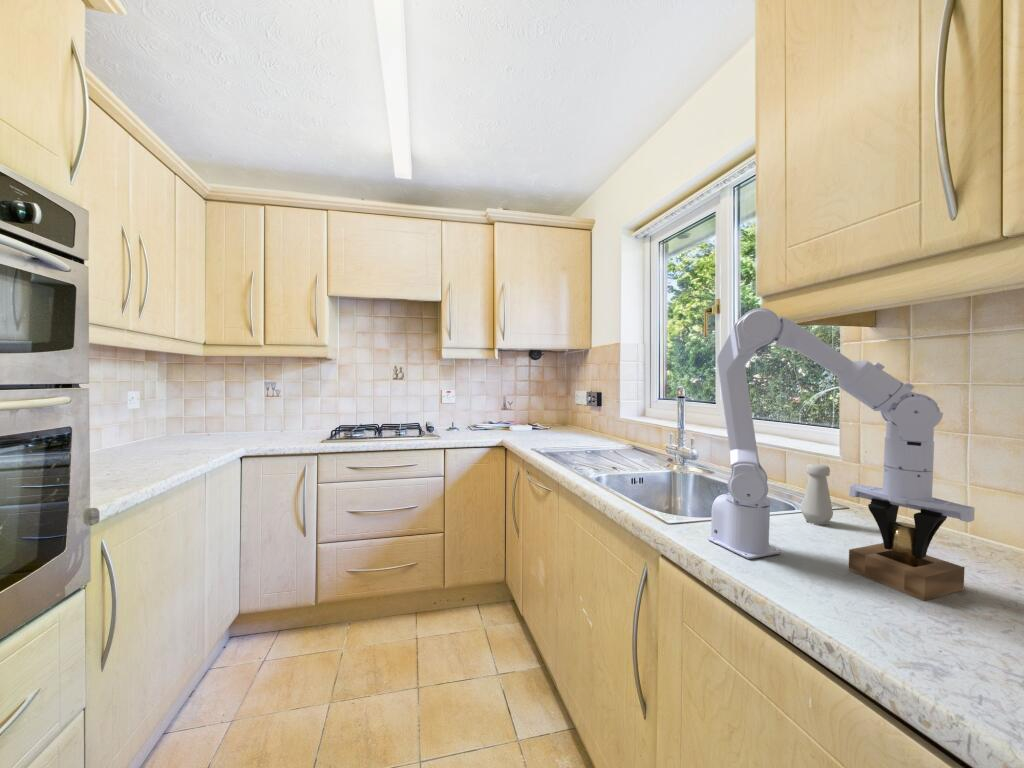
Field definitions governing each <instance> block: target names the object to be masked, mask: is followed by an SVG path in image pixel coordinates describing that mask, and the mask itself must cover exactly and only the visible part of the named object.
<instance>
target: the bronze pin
mask: <svg viewBox="0 0 1024 768" xmlns="http://www.w3.org/2000/svg"><path fill="white" fill-rule="evenodd" d="M915 542H916V530H915V524H912V523H908V522H904V521H903V522H902V521H896V522H892V537H891V559H892V560H895V561H898V562H901V563H903V564H906V565H909V566H912V567H918V558H916V557H915Z"/></svg>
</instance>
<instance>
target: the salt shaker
mask: <svg viewBox="0 0 1024 768" xmlns="http://www.w3.org/2000/svg"><path fill="white" fill-rule="evenodd" d="M806 473H807V474H808V478H807V483H806V487H805V492H804V496H803V500H802V504H801V508H800V510H801V513H802V515H803V516H802V517H804V520H805V519H806V520H805V521H806V522H807V521H808V522H807V523H809V522H811V523H810V524H812V523H814V524H813V525H815V524H820V525H819V526H827V525H828V524H829V522H830V521H831V520H832V519H833V518H834V517H833V516H834V512H833V506H832V500H831V494H830V489H829V485H828V478H827V477H829V476H830V475H831V468H830V467H829V466H828V465H827V464H822V463H815V462H814V463H808V464H806ZM827 523H828V524H827ZM826 524H827V525H826Z"/></svg>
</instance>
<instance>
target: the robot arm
mask: <svg viewBox="0 0 1024 768" xmlns="http://www.w3.org/2000/svg"><path fill="white" fill-rule="evenodd" d="M726 337H727V338H726V340H725V341H724V343H723V345H722V347H721V349H720V350H719V352H718V355H717V356H716V357H717V358H716V364H717V371H718V379H719V383H720V391H721V398H722V405H723V411H724V413H723V414H724V420H725V425H726V432H727V433H726V434H727V439H728V440H727V441H728V447H729V459H730V462H729V463H730V470H731V471H730V475H729V478H728V480H727V489H728V492H727V493H723V494H720V495H718V496H717V497H715V499H714V501H713V502H712V506H711V520H710V521H711V524H710V536H708V537H707V540H708V541H710V542H711V543H715V544H716V545H719V546H721V547H722V548H725V549H727V550H729V551H731V552H733V553H734V554H737V555H739V556H741V557H742V558H743V557H744V558H745V559H748V560H752V559H757V558H762V557H763V558H764V557H768V556H774V555H780V554H781V550H779V549H777V548H775V547H773V546H771V545H770V544H769V543H770V522H771V521H770V516H771V501H770V500H769V498H767V496H768V493H769V485H768V474H767V472H766V470H765V469H764V468H763V467H762V465H761V463H760V459H759V452H758V446H757V439H756V434H755V427H754V420H753V419H754V418H753V414H752V407H751V400H750V392H749V386H748V379H747V371H746V365H747V364H748V362H749V361H751V360H752V358H753V357H754V356H755V355H756V353H758V352H759V351H760V350H763V349H765V348H766V347H768V346H769V345H771V344H772V343H773V342H776V343H775V345H774V347H775V348H780V349H781V348H782V349H791V350H795V351H797V352H798V353H799V354H801V355H802V356H805V357H807V358H808V359H809V360H811V361H813V362H815V363H816V364H817V365H820V367H822V368H824V369H825V370H827V371H829V372H830V373H832V374H834V375H835V376H836V377H837V384H838V387H839V388H840V389H842V390H843V391H845V392H846V393H847V394H849V395H850V396H851V397H853V398H855V399H857V400H858V401H860V402H861V403H862V404H864V405H865V406H866V407H868V408H870V409H871V410H873V411H874V412H880V414H881V417H882V419H883V420H884V421H885V422H886V427H885V428H886V429H885V437H884V448H883V450H884V454H883V455H884V456H883V474H882V475H883V476H882V477H883V478H882V487H877V486H876V487H875V486H870V485H869V486H868V485H863V484H856V483H853V484H850V485H849V491H848V494H849V495H848V496H849V497H852V498H861V499H865V500H870V503H868V505H867V508H868V510H869V512H870V513H871V515H872V517H873V518H874V520H875V522H876V525H877V527H878V529H879V533H880V535H881V538H882V539H881V540H882V543H884V548H885V549H888V550H891V537H892V522H897V519H898V518H897V517H898V512H899V508H900V507H903V508H907V509H911V510H916V511H919V512H915V513H913V521H914V525H915V530H916V542H915V557H916V558H919V559H922V558H924V557H926V555H927V552H928V549H929V547H930V544H931V542H932V540H933V538H934V536H935V534H936V533H937V531H938V530H939V529H940V528H941V526H942V524H943V523H944V522H946V520H947V518H953V519H958V520H959V521H962V522H967V523H972V522H973V521H975V507H974V506H969V505H965V504H960V503H955V502H953V501H952V502H951V501H947V500H945V499H941V498H937V497H933V485H934V484H933V481H934V480H933V479H934V478H933V477H934V459H935V458H934V457H935V455H934V454H935V441H934V433H935V427H937V426H938V425H939V424H940V422H941V421H942V419H943V415H944V413H943V412H941V409H940V407H939V406H938V403H937V401H935V400H934V399H933V398H932V397H930V396H928V395H926V394H922V393H916V392H914V391H913V390H914V388H915V386H914V384H912V383H910V382H905V383H904V382H902V381H901V380H900V379H897V378H896V377H894V376H893V375H892V374H890V373H888V372H886V371H884V369H885V366H884V365H883V364H882V363H880V362H874V363H872V362H870V361H869V360H857V361H855V360H854V361H853V360H851V359H850V358H848V357H847V356H845V355H844V354H843V353H841V352H840V351H838V350H836V349H835V348H833V347H832V346H831V345H829V344H828V343H827V342H826V341H825V342H824V341H823V340H822V339H821V338H819V337H817V336H816V335H815V334H813V333H811V332H810V331H808V330H807V329H806V328H804V327H803V326H801V325H799V324H798V323H796V322H794V321H792V320H790V319H789V318H786V317H784V316H780V317H779V316H778V315H777V314H776V313H775V311H773V310H770V309H768V308H763V307H759V308H754V309H751V310H748V311H747V312H746V313H745V314H743V315H742V317H740V318H739V319H738V320H737V321H736V322H735V323H734V324H733V325H732V327H731V330H730V333H729V334H728V335H727V336H726Z"/></svg>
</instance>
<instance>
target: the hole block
mask: <svg viewBox="0 0 1024 768" xmlns="http://www.w3.org/2000/svg"><path fill="white" fill-rule="evenodd" d="M965 567H966V566H961V565H958V564H955V563H953V562H950V561H948V560H947V561H946V560H943V559H941V558H937V557H934V556H931V555H927V554H926V557H924V558H922V559H919V558H918V567H912V566H909V565H906V564H903V563H901V562H898V561H895V560H892V559H891V550H888V549H885V548H884V543H883V542H882V543H877V544H870V545H866V546H860V547H856V548H849V549H848V571H850V572H851V573H855V574H857V575H860V576H862V577H863V578H864V577H865V578H867V579H869V580H872V581H874V582H877V583H879V584H881V585H884V586H886V587H889V588H891V589H893V590H896V591H898V592H901V593H903V594H906V595H908V596H911V597H913V598H915V599H918V600H921V601H924V602H925V601H929V600H932V599H936V598H939V597H943V596H947V595H950V594H955V593H957V592H961V591H964V588H965V569H966V568H965Z"/></svg>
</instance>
